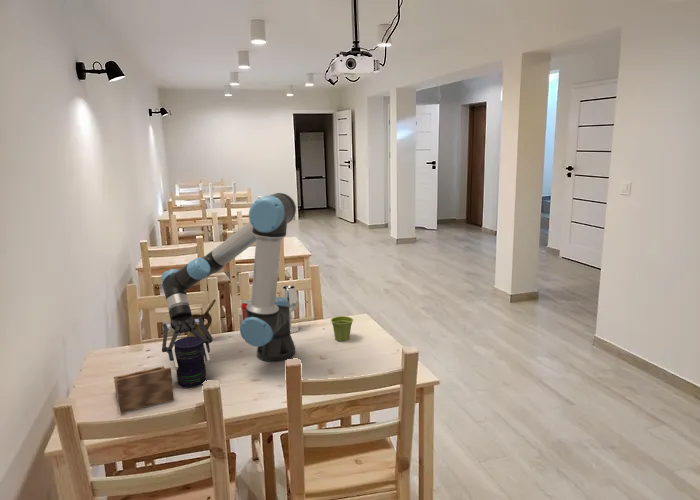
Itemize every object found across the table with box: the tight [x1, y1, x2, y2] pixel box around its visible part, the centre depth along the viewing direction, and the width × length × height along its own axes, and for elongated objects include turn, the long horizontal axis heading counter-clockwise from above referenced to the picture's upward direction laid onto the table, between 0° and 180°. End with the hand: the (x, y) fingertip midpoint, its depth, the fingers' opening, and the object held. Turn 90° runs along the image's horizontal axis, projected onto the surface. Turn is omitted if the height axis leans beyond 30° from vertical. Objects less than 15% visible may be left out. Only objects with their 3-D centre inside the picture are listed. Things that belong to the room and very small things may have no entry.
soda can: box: [240, 298, 251, 322], centre depth 218 cm, size 8×8×15 cm
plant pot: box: [330, 315, 354, 342], centre depth 210 cm, size 9×9×9 cm
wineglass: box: [280, 285, 299, 334], centre depth 220 cm, size 8×8×20 cm
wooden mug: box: [186, 299, 216, 338], centre depth 210 cm, size 9×14×18 cm, turn 102°
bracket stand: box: [113, 366, 175, 414], centre depth 164 cm, size 16×16×11 cm
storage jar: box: [173, 336, 207, 389], centre depth 173 cm, size 10×10×15 cm
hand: (192, 364), depth 171 cm, fingers closed on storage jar, 10 cm apart
